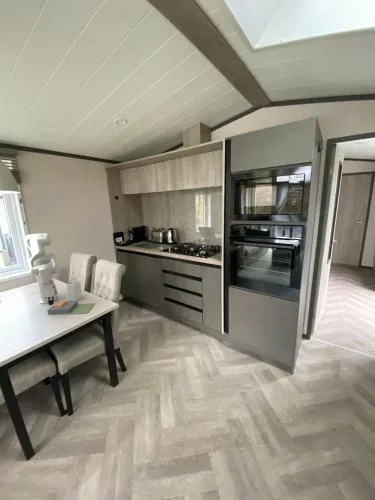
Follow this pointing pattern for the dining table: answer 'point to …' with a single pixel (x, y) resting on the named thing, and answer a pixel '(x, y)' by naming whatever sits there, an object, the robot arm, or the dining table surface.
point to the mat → (82, 308)
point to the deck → (63, 308)
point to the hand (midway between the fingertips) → (51, 304)
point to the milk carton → (74, 289)
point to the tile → (60, 304)
